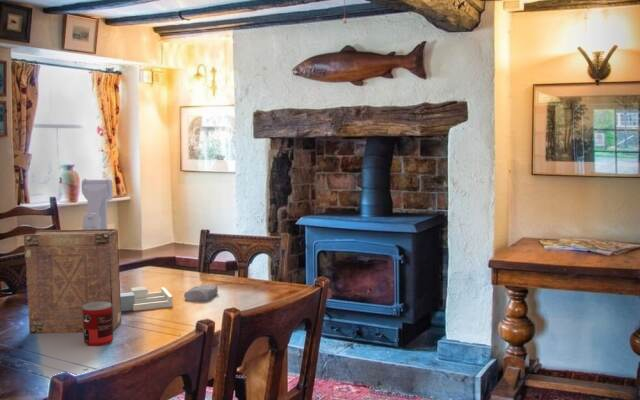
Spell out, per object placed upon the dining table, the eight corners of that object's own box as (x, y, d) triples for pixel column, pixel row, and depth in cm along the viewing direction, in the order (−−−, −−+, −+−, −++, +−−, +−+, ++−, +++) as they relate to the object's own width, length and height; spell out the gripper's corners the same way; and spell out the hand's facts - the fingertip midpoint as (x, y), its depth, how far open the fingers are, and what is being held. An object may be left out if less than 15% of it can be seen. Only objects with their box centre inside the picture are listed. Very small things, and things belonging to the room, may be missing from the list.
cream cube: (131, 301, 236) (130, 287, 236) (145, 300, 238) (145, 286, 238) (133, 304, 232) (132, 290, 231) (148, 303, 233) (147, 289, 233)
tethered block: (89, 311, 224) (88, 295, 223) (133, 306, 229) (132, 290, 229) (90, 314, 219) (89, 298, 218) (135, 309, 225) (134, 293, 224)
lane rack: (127, 300, 237) (127, 291, 237) (164, 296, 242) (164, 287, 242) (133, 310, 223) (133, 300, 223) (172, 306, 228) (172, 296, 228)
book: (28, 333, 199) (22, 234, 196) (40, 324, 208) (35, 230, 205) (113, 331, 200) (108, 233, 197) (121, 322, 209) (117, 228, 206)
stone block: (183, 306, 236) (209, 301, 234) (180, 292, 236) (206, 288, 234) (195, 299, 248) (220, 294, 246) (192, 286, 248) (217, 281, 246)
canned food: (88, 338, 193) (86, 301, 192) (116, 337, 194) (114, 300, 193) (80, 347, 186) (78, 308, 184) (110, 345, 186) (108, 307, 185)
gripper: (68, 272, 214) (70, 313, 215) (115, 267, 220) (117, 308, 221) (67, 268, 220) (69, 308, 222) (112, 264, 226) (114, 303, 227)
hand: (93, 307), depth 222 cm, fingers closed on tethered block, 2 cm apart
